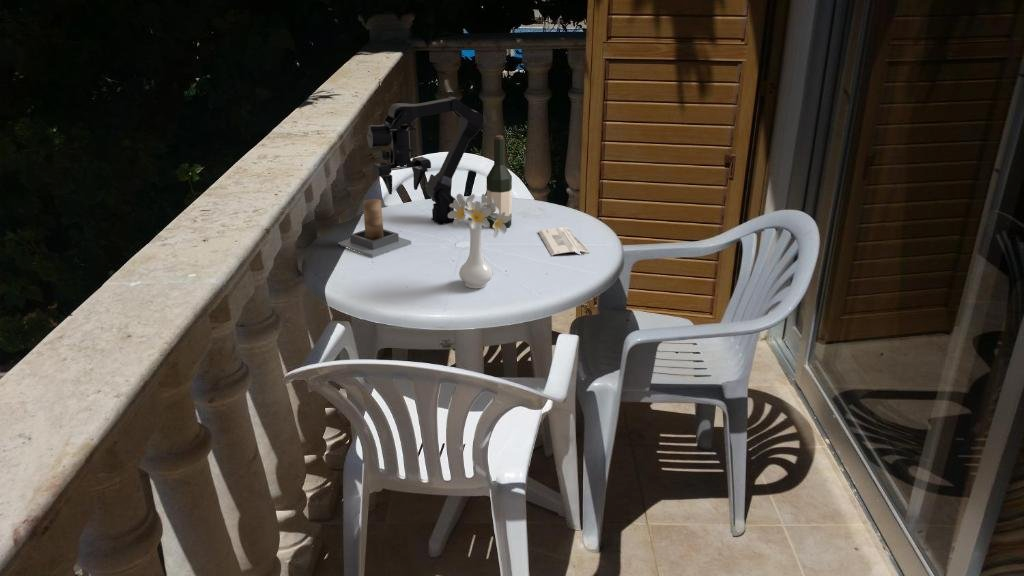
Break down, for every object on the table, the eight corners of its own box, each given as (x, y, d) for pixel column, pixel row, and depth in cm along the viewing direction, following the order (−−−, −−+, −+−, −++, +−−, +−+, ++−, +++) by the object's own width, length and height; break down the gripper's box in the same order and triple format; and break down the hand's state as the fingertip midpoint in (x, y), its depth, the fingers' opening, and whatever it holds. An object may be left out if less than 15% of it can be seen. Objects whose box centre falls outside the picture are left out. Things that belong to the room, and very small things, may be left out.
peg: (383, 238, 256) (380, 198, 251) (384, 243, 251) (381, 203, 246) (365, 239, 255) (362, 199, 250) (366, 245, 250) (363, 204, 245)
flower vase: (496, 299, 215) (496, 209, 205) (437, 286, 223) (435, 198, 213) (519, 283, 226) (520, 196, 216) (462, 270, 234) (461, 186, 224)
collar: (376, 232, 263) (376, 222, 262) (411, 243, 254) (410, 233, 253) (337, 245, 252) (337, 235, 251) (372, 257, 243) (372, 246, 241)
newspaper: (591, 256, 248) (590, 248, 246) (552, 262, 246) (551, 254, 245) (574, 231, 268) (573, 224, 267) (537, 236, 267) (537, 229, 266)
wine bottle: (496, 219, 277) (496, 132, 266) (516, 224, 273) (517, 135, 261) (481, 225, 271) (481, 136, 259) (501, 230, 267) (502, 140, 255)
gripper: (414, 136, 269) (415, 182, 276) (362, 143, 259) (365, 190, 265) (431, 142, 261) (432, 189, 267) (379, 150, 251) (381, 198, 257)
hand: (403, 191), depth 264 cm, fingers open, 9 cm apart
